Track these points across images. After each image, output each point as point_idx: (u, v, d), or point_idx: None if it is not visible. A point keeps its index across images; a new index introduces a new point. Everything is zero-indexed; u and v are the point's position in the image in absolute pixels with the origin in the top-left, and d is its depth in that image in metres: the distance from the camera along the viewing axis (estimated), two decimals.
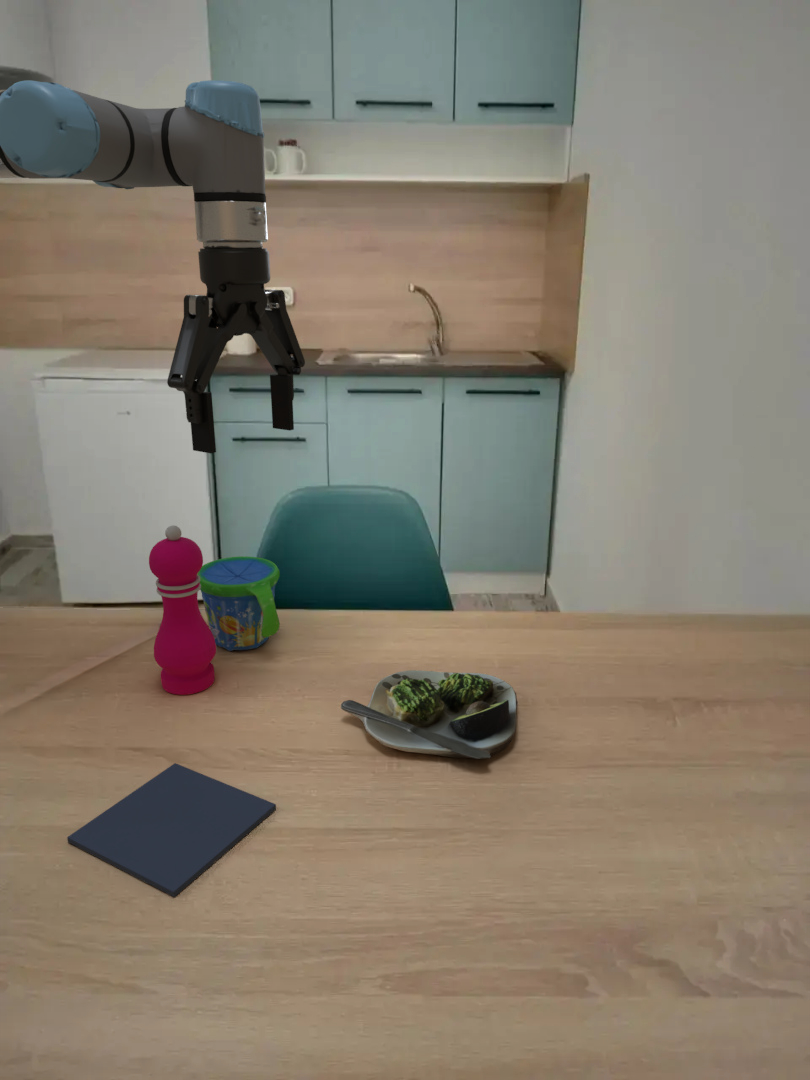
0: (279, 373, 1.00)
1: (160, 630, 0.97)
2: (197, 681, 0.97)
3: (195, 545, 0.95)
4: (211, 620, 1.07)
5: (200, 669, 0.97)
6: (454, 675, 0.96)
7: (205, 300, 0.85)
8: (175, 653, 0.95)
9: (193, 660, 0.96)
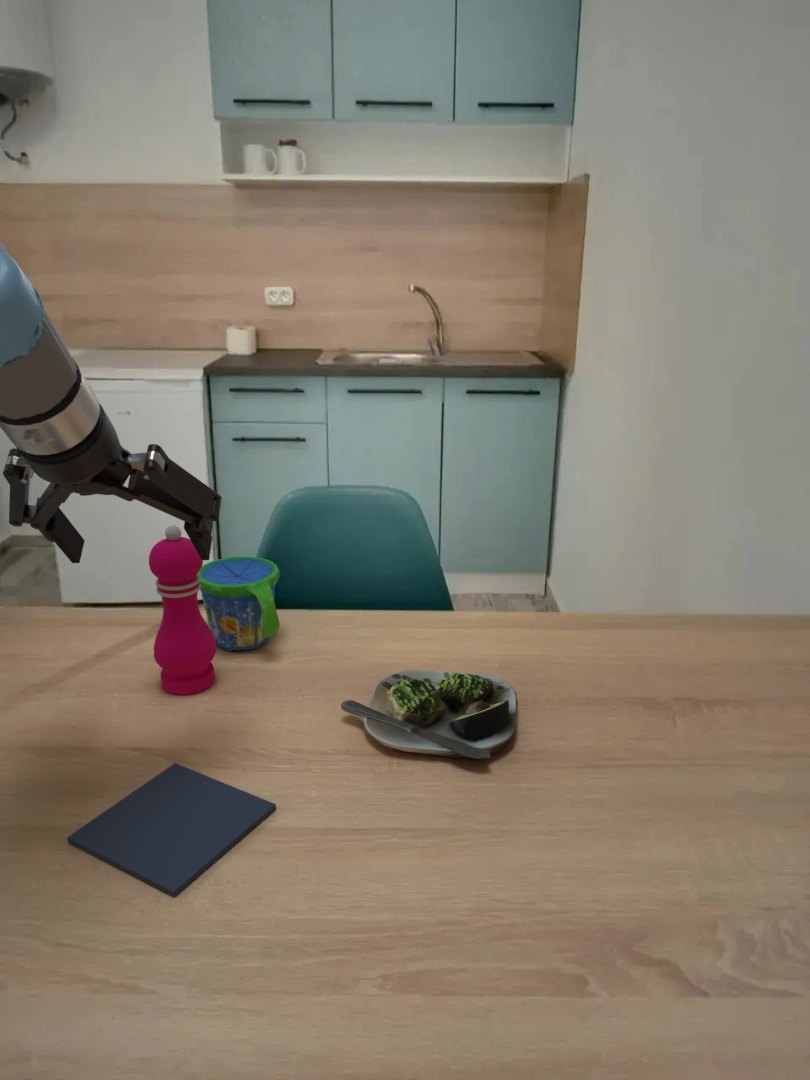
0: None
1: (160, 630, 0.97)
2: (197, 681, 0.97)
3: None
4: (211, 620, 1.07)
5: (200, 669, 0.97)
6: (454, 675, 0.96)
7: (8, 475, 0.72)
8: (175, 653, 0.95)
9: (193, 660, 0.96)
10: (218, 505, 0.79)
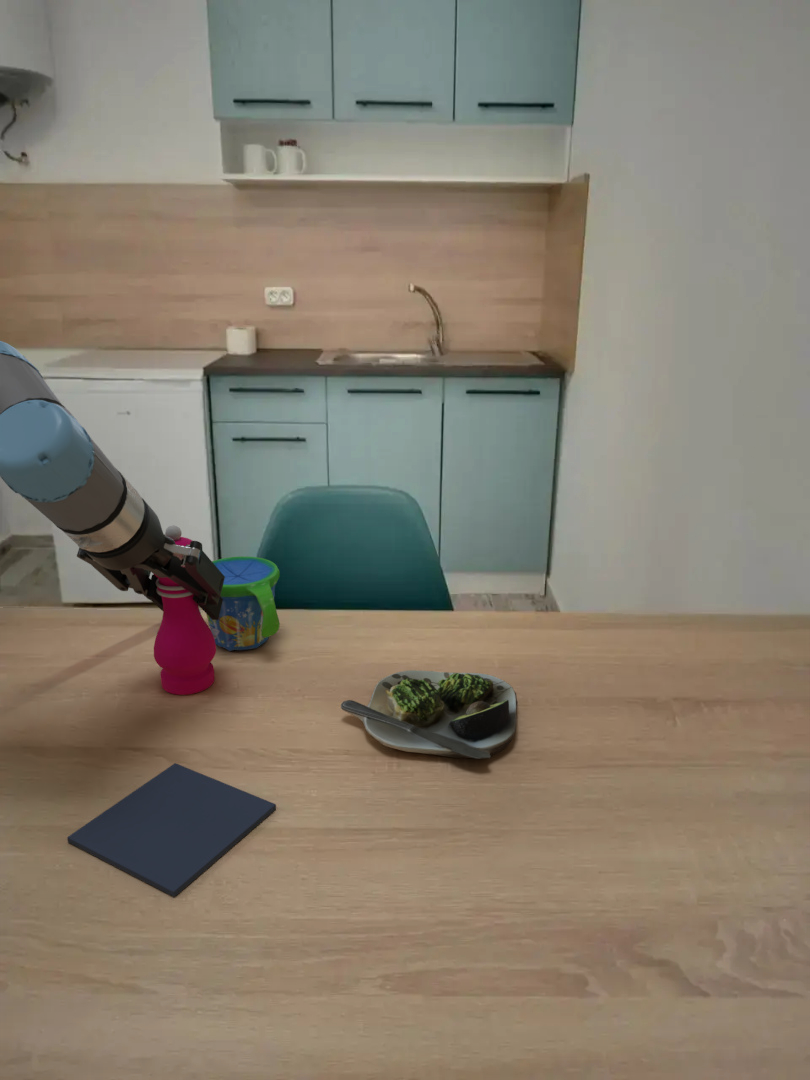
0: None
1: (160, 630, 0.97)
2: (197, 681, 0.97)
3: None
4: (211, 620, 1.07)
5: (200, 669, 0.97)
6: (454, 675, 0.96)
7: (80, 558, 0.87)
8: (175, 653, 0.95)
9: (193, 660, 0.96)
10: (222, 585, 0.93)
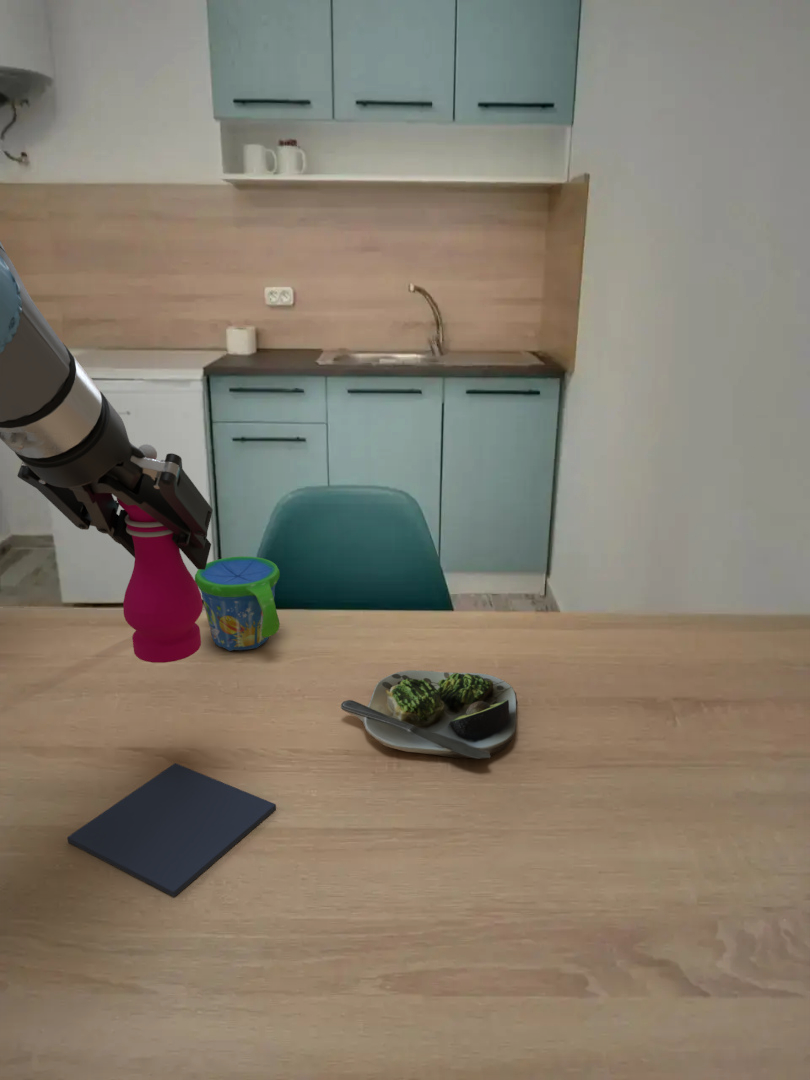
0: None
1: (131, 580, 0.76)
2: (178, 645, 0.77)
3: None
4: (211, 620, 1.07)
5: (182, 630, 0.77)
6: (454, 675, 0.96)
7: (22, 478, 0.66)
8: (149, 609, 0.75)
9: (173, 618, 0.75)
10: (209, 520, 0.73)
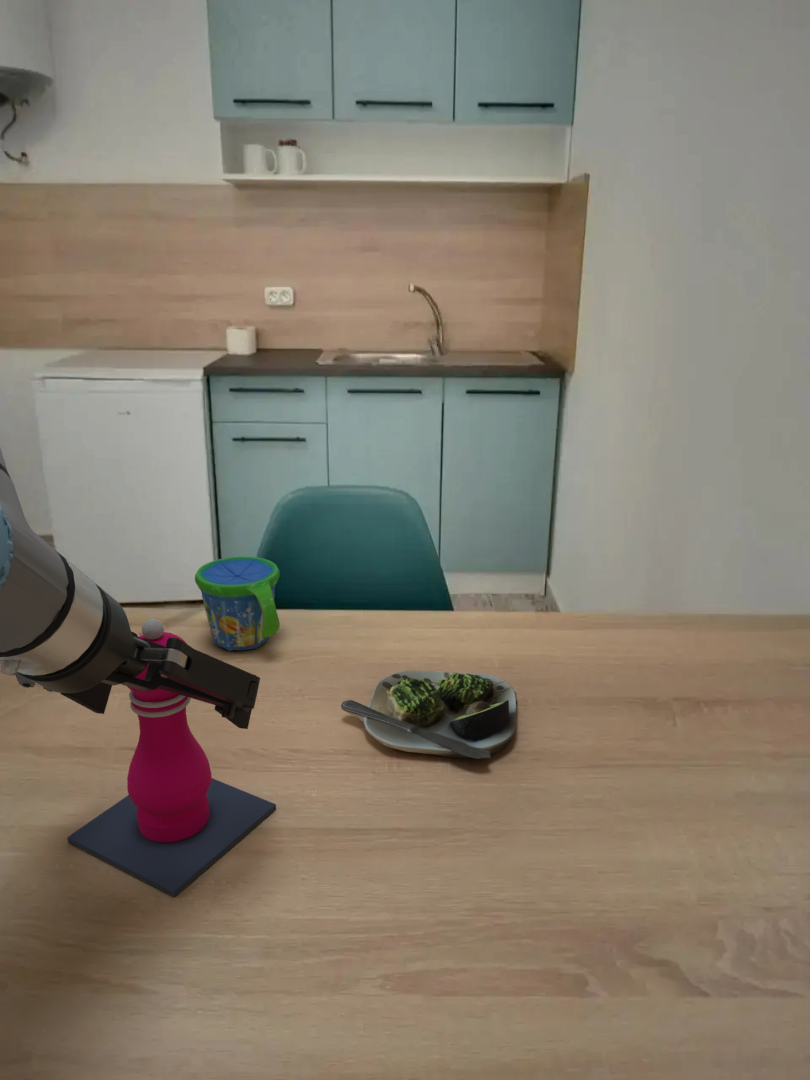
0: None
1: (135, 757, 0.71)
2: (186, 824, 0.72)
3: None
4: (211, 620, 1.07)
5: (190, 807, 0.72)
6: (454, 675, 0.96)
7: None
8: (155, 791, 0.70)
9: (180, 799, 0.71)
10: (254, 691, 0.65)
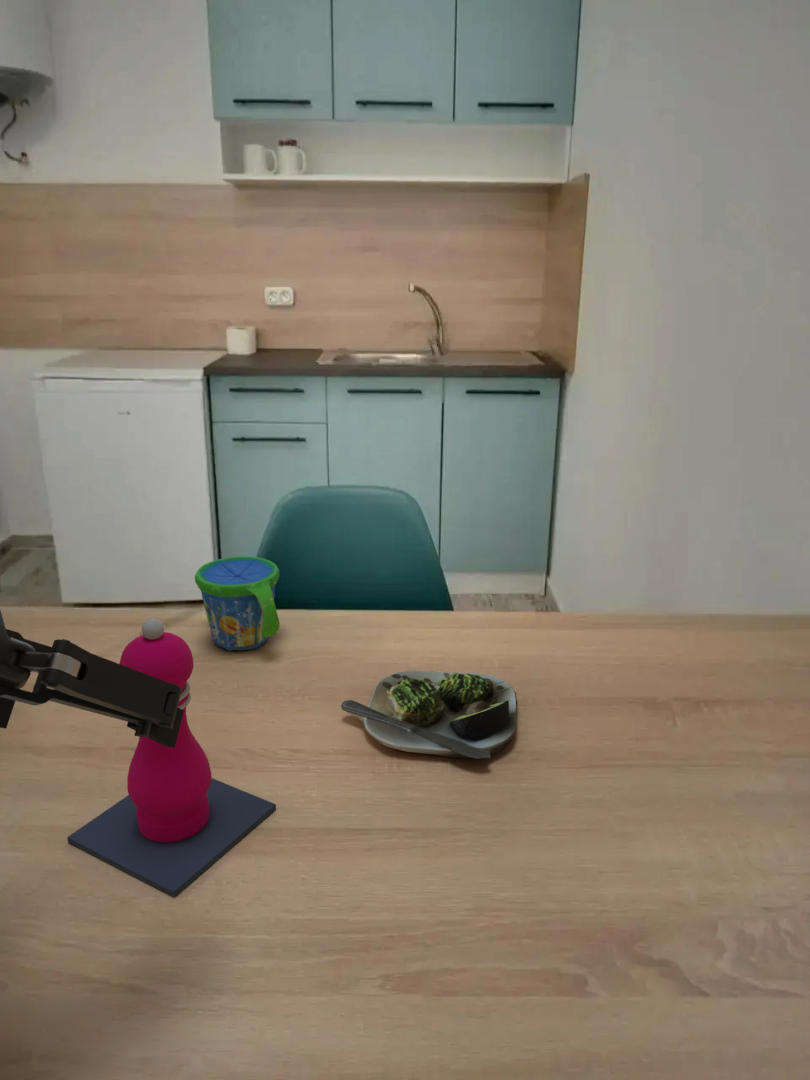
0: None
1: (136, 757, 0.71)
2: (186, 824, 0.72)
3: (183, 645, 0.70)
4: (211, 620, 1.07)
5: (190, 807, 0.72)
6: (454, 675, 0.96)
7: None
8: (155, 791, 0.70)
9: (180, 799, 0.71)
10: (174, 704, 0.53)
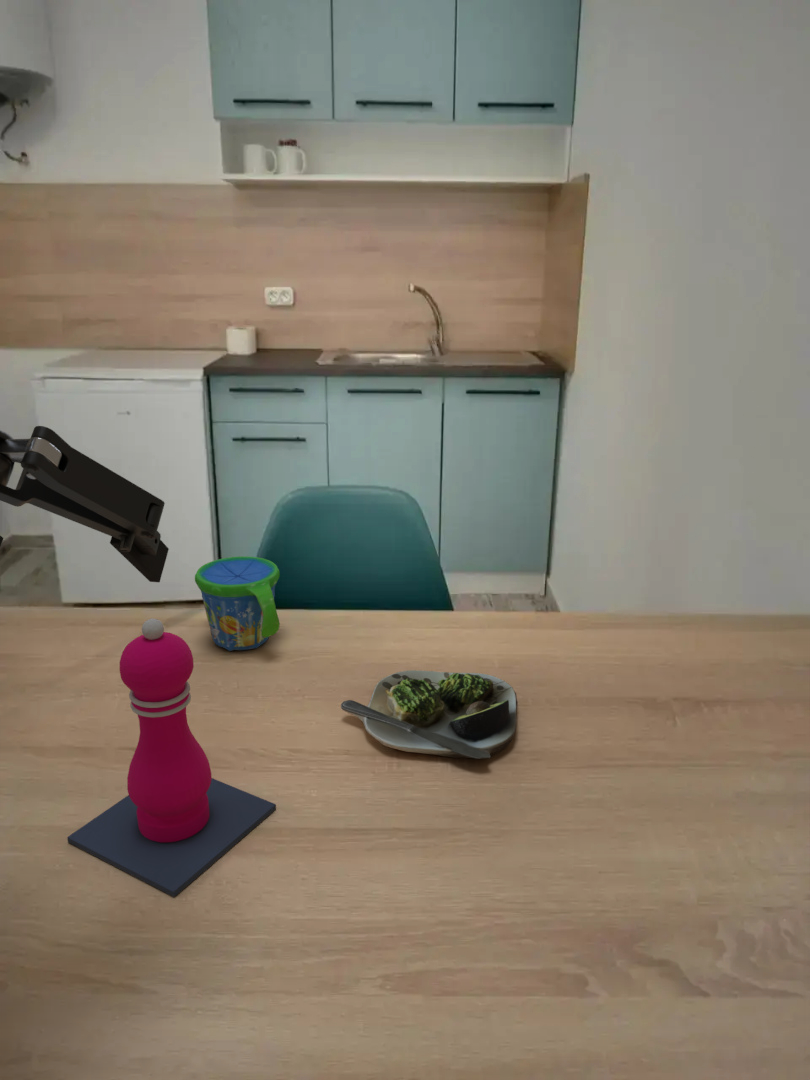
0: None
1: (136, 757, 0.71)
2: (186, 824, 0.72)
3: (183, 645, 0.70)
4: (211, 620, 1.07)
5: (190, 807, 0.72)
6: (454, 675, 0.96)
7: None
8: (155, 791, 0.70)
9: (180, 799, 0.71)
10: (156, 515, 0.53)
